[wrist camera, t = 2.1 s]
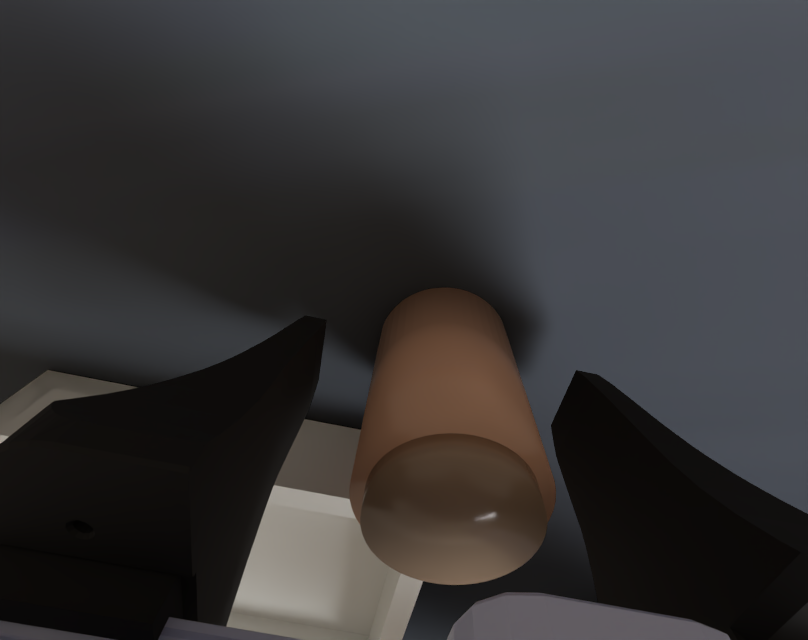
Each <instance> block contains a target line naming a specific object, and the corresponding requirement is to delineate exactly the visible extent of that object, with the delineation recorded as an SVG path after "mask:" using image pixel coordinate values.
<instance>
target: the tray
mask: <svg viewBox="0 0 808 640" xmlns="http://www.w3.org/2000/svg"><path fill="white" fill-rule="evenodd" d="M134 388H139V387H134V386H129V385H123V384H118V383H113V382H108V381H102V380H97V379H92V378H87V377H82V376H76V375H71V374H66V373H61V372H55V371H50V370H47V371H46V372H44V373H43V374H42V375H40V376H39V377H37V378H36V379H35V380H33V381H32V382H30V383H29V384H28V385H26V386H25V387H23V388H22V389H21V390H19V391H18V392H16V393H15V394H14V395H12V396H11V397H9V398H8V399H7V400H5V401H4V402H2V403H1V404H0V444H1V443H2V442H3V441H4V440H6V439H7V438H8V437H9V436H10V435H12V434H13V433H14V432H15V431H17V430H18V429H19V428H20V427H22V426H23V425H24V424H25V423H27V422H28V421H29V420H30V419H32V418H33V417H34V416H35V415H37V414H38V413H39V412H40V411H42V410H43V409H44V408H45V407H47V406H48V405H49V404H51V403H52V402H53V401H56V400H65V399H73V398H80V397H87V396H94V395H101V394H108V393H113V392H119V391H124V390H129V389H134ZM360 432H361V430H359V429H354V428H349V427H343V426H338V425H333V424H328V423H322V422H317V421H312V420H307V419H304V421H303V423H302V426H301V428H300V430H299V432H298V434H297V436H296V438H295V440H294V442H293V444H292V447H291V449H290V451H289V453H288V455H287V457H286V459H285V461H284V463H283V465H282V468H281V470H280V472H279V474H278V476H277V479H276V481H275V484H274V486H273V488H272V491H271V494H270V497H269V500H268V503H267V505H266V508H265V511H264V514H263V517H262V520H261V522H260V525H259V528H258V531H257V534H256V537H255V540H254V543H253V546H252V549H251V552H250V555H249V558H248V561H247V564H246V567H245V570H244V573H243V576H242V579H241V582H240V585H239V588H238V591H237V594H236V597H235V600H234V603H233V607H232V610H231V613H230V616H229V619H228V622H227V626H226V627H231V628H237V629H243V630H249V631H255V632H261V633H267V634H273V635H279V636H285V637H290V638H296V639H302V640H402V638H403V636H404V633H405V630H406V627H407V625H408V622H409V619H410V616H411V614H412V611H413V608H414V605H415V602H416V600H417V597H418V594H419V591H420V589H421V586H422V583H423V581H421V580H417V579H414V578H411V577H409V576H406V575H404V574H401V573H399V572H398V571H396V570H394V569H392V568H390V567H389V566H388V565H386V564H385V563H383V562H382V561H381V560H380V559H379V558H378V557H377V556H376V555H375V554H374V553H373V552H372V551H371V550H370V548H369V547H368V545H367V544H366V542H365V539H364V537H363V535H362V531H361V526H360V524H359V522H358V521H357V519H356V517H355V515H354V513H353V511H352V507H351V503H350V496H349V488H350V480H351V476H352V471H353V466H354V461H355V456H356V451H357V446H358V442H359V437H360Z"/></svg>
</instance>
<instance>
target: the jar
mask: <svg viewBox="0 0 808 640" xmlns="http://www.w3.org/2000/svg"><path fill="white" fill-rule="evenodd" d="M349 496H350V503H351V507H352V511H353V513H354V515H355V517H356V519H357V521H358V522H359V524H360V526H361V531H362V535H363V537H364V539H365V542H366V544H367V545H368V547H369V548H370V550H371V551H372V552H373V553H374V554H375V555H376V556H377V557H378V558H379V559H380V560H381V561H382V562H383V563H385V564H386V565H388V566H389V567H390V568H392V569H394V570H396V571H398V572H399V573H401V574H404V575H406V576H409V577H411V578H414V579H417V580H421V581H425V582H430V583H436V584H445V585H466V584H475V583H480V582H485V581H489V580H493V579H496V578H499V577H501V576H504V575H506V574H508V573H510V572H512V571H514V570H516V569H518V568H519V567H521V566H522V565H524V564H525V563H526V562H527V561H528V560H529V559H531V558H532V557H533V555H534V554H535V553H536V552H537V551H538V549H539V548H540V546H541V544H542V542H543V540H544V538H545V535H546V530H547V522H548V521H549V519H550V517H551V515H552V512H553V510H554V505H555V501H556V488H555V481H554V478H553V475H552V472H551V469H550V466H549V463H548V460H547V456H546V453H545V450H544V447H543V444H542V441H541V438H540V435H539V432H538V429H537V426H536V423H535V420H534V417H533V413H532V410H531V407H530V404H529V401H528V398H527V395H526V392H525V389H524V386H523V383H522V380H521V377H520V374H519V370H518V367H517V364H516V361H515V358H514V355H513V352H512V349H511V346H510V343H509V340H508V337H507V334H506V331H505V328H504V325H503V322H502V320H501V318H500V316H499V315H498V313H497V312H496V311H495V309H494V308H493V307H492V306H491V305H490V304H489V303H487V302H486V301H485V300H484V299H482V298H480V297H479V296H477V295H475V294H473V293H470V292H468V291H465V290H461V289H456V288H447V287H440V288H431V289H427V290H423V291H420V292H417V293H415V294H413V295H411V296H409V297H407V298H406V299H404V300H403V301H401V302H400V303H399V304H398V305H397V306H396V307H395V308H394V309H393V310H392V311H391V312H390V314H389V315H388V317H387V318H386V320H385V322H384V325H383V327H382V331H381V335H380V340H379V345H378V350H377V354H376V359H375V364H374V369H373V374H372V379H371V383H370V388H369V393H368V398H367V403H366V408H365V413H364V417H363V422H362V427H361V432H360V437H359V442H358V446H357V451H356V456H355V461H354V466H353V471H352V476H351V480H350V488H349Z"/></svg>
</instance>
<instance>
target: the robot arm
mask: <svg viewBox="0 0 808 640" xmlns="http://www.w3.org/2000/svg"><path fill="white" fill-rule="evenodd" d="M326 321H327V320H324V319H319V318H314V317H309V316H304V317H302V318H300V319H299V320H297V321H295V322H294V323H292V324H291V325H289V326H288V327H286V328H284V329H283V330H281V331H280V332H278V333H277V334H275V335H273V336H272V337H270V338H268V339H267V340H265V341H263V342H262V343H260V344H258V345H256V346H254V347H252V348H250V349H248V350H246V351H244V352H242V353H240V354H239V355H237V356H234V357H232V358H230V359H228V360H225V361H223V362H221V363H218V364H216V365H213V366H210V367H208V368H205V369H203V370H200V371H197V372H193V373H190V374H187V375H184V376H180V377H177V378H174V379H171V380H167V381H164V382H160V383H156V384H152V385H148V386H143V387H139V388H134V389H129V390H124V391H119V392H113V393H108V394H101V395H94V396H87V397H80V398H73V399H65V400H56V401H53V402H52V403H51V404H49V405H48V406H47V407H45V408H44V409H43V410H42V411H40V412H39V413H38V414H37V415H35V416H34V417H33V418H32V419H30V420H29V421H28V422H27V423H25V424H24V425H23V426H22V427H20V428H19V429H18V430H17V431H15V432H14V433H13V434H12V435H10V436H9V437H8V438H7V439H6V440H4V441H3V442H2V443H1V444H0V640H302V639H296V638H290V637H285V636H279V635H273V634H267V633H261V632H255V631H249V630H243V629H237V628H231V627H226V626H227V622H228V619H229V616H230V613H231V610H232V607H233V603H234V600H235V597H236V594H237V591H238V588H239V585H240V582H241V579H242V576H243V573H244V570H245V567H246V564H247V561H248V558H249V555H250V552H251V549H252V546H253V543H254V540H255V537H256V534H257V531H258V528H259V525H260V522H261V520H262V517H263V514H264V511H265V508H266V505H267V503H268V500H269V497H270V494H271V491H272V488H273V486H274V484H275V481H276V479H277V476H278V474H279V472H280V470H281V468H282V465H283V463H284V461H285V459H286V457H287V455H288V453H289V451H290V449H291V447H292V444H293V442H294V440H295V438H296V436H297V434H298V432H299V430H300V428H301V426H302V423H303V421H304V419H305V417H306V415H307V413H308V410H309V408H310V405H311V402H312V399H313V396H314V393H315V390H316V386H317V383H318V380H319V373H320V365H321V358H322V350H323V343H324V336H325V328H326ZM551 428H552V435H553V441H554V446H555V452H556V457H557V460H558V463H559V466H560V469H561V472H562V475H563V478H564V481H565V484H566V487H567V490H568V493H569V496H570V499H571V502H572V504H573V507H574V510H575V513H576V516H577V519H578V522H579V525H580V528H581V531H582V534H583V538H584V541H585V545H586V549H587V553H588V558H589V562H590V567H591V571H592V576H593V580H594V585H595V590H596V595H597V600H598V603H595V602H590V601H584V600H579V599H573V598H567V597H562V596H556V595H550V594H545V593H528V592H505V593H502V594H499V595H496V596H493V597H490V598H487V599H483V600H480V601H477V602H476V603H475V604H473V605H472V606H471V607H470V608H469V609H468V610H467V611H466V612H465V613H464V614H463V615H462V616H461V617H460V618H459V619H458V620H457V621H456V622H455V623H454V625H453V627H452V629H451V631H450V633H449V636H448V638H447V640H808V514H807V513H805V512H803V511H801V510H799V509H797V508H795V507H793V506H791V505H789V504H787V503H785V502H783V501H781V500H780V499H778V498H776V497H774V496H772V495H771V494H769V493H767V492H765V491H763V490H762V489H760V488H758V487H756V486H754V485H753V484H751V483H749V482H747V481H746V480H744V479H742V478H741V477H739V476H737V475H736V474H734V473H732V472H731V471H729V470H728V469H726V468H725V467H723V466H721V465H720V464H718V463H717V462H715V461H714V460H712V459H711V458H709V457H707V456H706V455H704V454H703V453H702V452H700V451H699V450H697V449H696V448H694V447H693V446H691V445H690V444H689V443H687V442H686V441H685V440H683V439H682V438H680V437H679V436H678V435H676V434H675V433H674V432H672V431H671V430H670V429H668V428H667V427H666V426H664V425H663V424H662V423H660V422H659V421H658V420H657V419H655V418H654V417H653V416H651V415H650V414H649V413H648V412H646V411H645V410H644V409H643V408H641V407H640V406H639V405H638V404H636V403H635V402H634V401H633V400H631V399H630V398H629V397H628V396H626V395H625V394H624V393H622V392H621V391H620V390H619V389H617V388H616V387H615V386H613V385H612V384H611V383H609V382H608V381H606V380H605V379H604V378H602V377H600V376H599V375H597V374H592V373H587V372H582V371H577V370H576V372H575V374H574V376H573V378H572V381H571V383H570V385H569V387H568V389H567V392H566V394H565V396H564V398H563V400H562V402H561V405H560V407H559V409H558V411H557V413H556V416H555V418H554V420H553V422H552V424H551Z"/></svg>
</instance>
